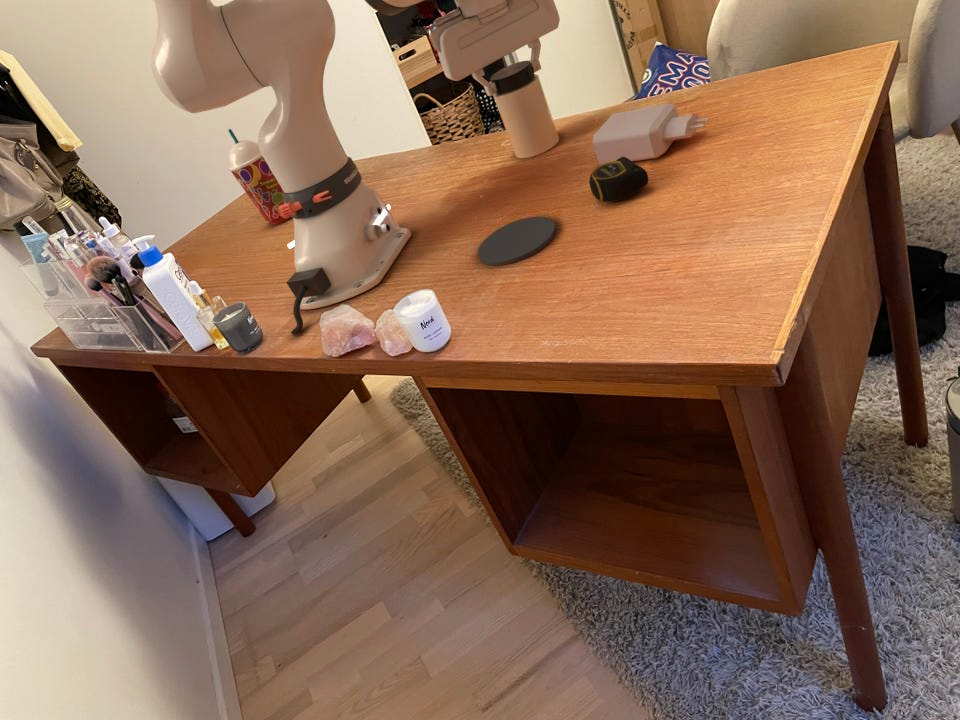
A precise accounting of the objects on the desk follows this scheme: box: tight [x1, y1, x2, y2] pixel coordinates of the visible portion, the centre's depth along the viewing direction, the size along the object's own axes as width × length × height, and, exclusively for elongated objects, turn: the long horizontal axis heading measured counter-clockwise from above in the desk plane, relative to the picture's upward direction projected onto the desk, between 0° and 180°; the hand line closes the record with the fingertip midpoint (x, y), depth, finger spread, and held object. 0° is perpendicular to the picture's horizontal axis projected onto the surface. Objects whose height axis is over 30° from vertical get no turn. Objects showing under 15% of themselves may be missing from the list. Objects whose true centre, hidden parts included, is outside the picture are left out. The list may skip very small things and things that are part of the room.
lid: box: [489, 60, 535, 94], centre depth 112 cm, size 7×7×2 cm
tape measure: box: [588, 157, 649, 203], centre depth 90 cm, size 7×7×4 cm
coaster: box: [477, 216, 557, 266], centre depth 92 cm, size 11×11×1 cm
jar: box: [492, 73, 560, 159], centre depth 115 cm, size 8×8×13 cm
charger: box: [591, 102, 710, 167], centre depth 97 cm, size 5×9×15 cm
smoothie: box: [227, 128, 292, 226], centre depth 139 cm, size 8×8×20 cm
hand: (514, 82), depth 112 cm, fingers closed on lid, 7 cm apart
